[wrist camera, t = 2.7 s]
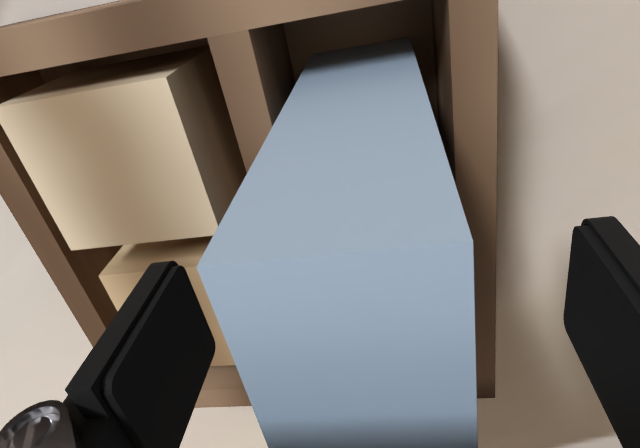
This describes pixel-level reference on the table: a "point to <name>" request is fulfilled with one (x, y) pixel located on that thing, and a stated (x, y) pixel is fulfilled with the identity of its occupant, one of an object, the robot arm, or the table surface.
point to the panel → (351, 265)
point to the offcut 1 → (130, 149)
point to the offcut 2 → (185, 252)
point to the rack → (267, 113)
